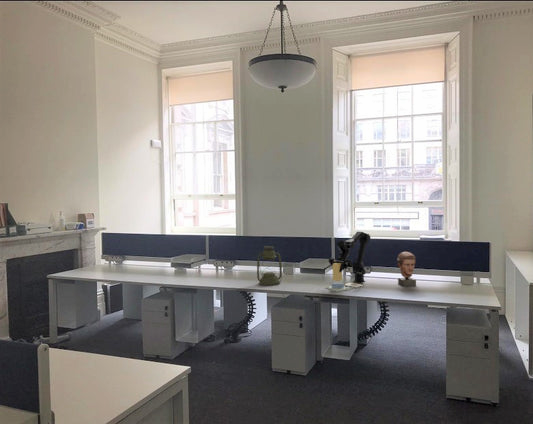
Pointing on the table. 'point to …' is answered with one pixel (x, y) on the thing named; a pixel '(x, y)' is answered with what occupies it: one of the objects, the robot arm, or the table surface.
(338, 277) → the pillar brick
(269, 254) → the lantern
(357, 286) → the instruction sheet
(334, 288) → the baseplate
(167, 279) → the table surface
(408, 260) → the bust
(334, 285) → the base brick
